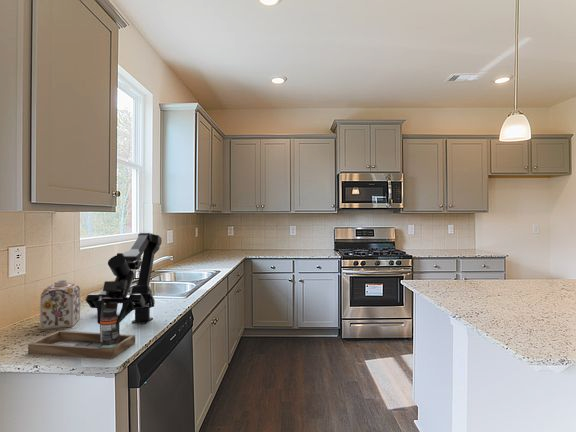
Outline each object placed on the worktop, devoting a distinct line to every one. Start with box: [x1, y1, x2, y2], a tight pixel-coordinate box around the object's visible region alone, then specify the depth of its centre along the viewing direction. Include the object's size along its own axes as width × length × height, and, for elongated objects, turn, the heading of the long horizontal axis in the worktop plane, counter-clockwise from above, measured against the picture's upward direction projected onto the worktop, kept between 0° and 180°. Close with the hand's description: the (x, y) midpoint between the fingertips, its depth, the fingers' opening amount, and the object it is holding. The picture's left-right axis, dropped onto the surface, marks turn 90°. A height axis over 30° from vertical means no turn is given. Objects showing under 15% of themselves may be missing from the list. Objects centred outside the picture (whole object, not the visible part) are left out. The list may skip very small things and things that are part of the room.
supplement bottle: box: [99, 309, 121, 346], centre depth 115 cm, size 6×6×11 cm
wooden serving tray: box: [27, 330, 136, 360], centre depth 116 cm, size 13×30×3 cm, turn 83°
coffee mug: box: [97, 290, 119, 314], centre depth 155 cm, size 12×9×10 cm
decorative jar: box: [39, 279, 81, 330], centre depth 140 cm, size 12×12×18 cm
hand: (108, 323), depth 113 cm, fingers closed on supplement bottle, 6 cm apart
